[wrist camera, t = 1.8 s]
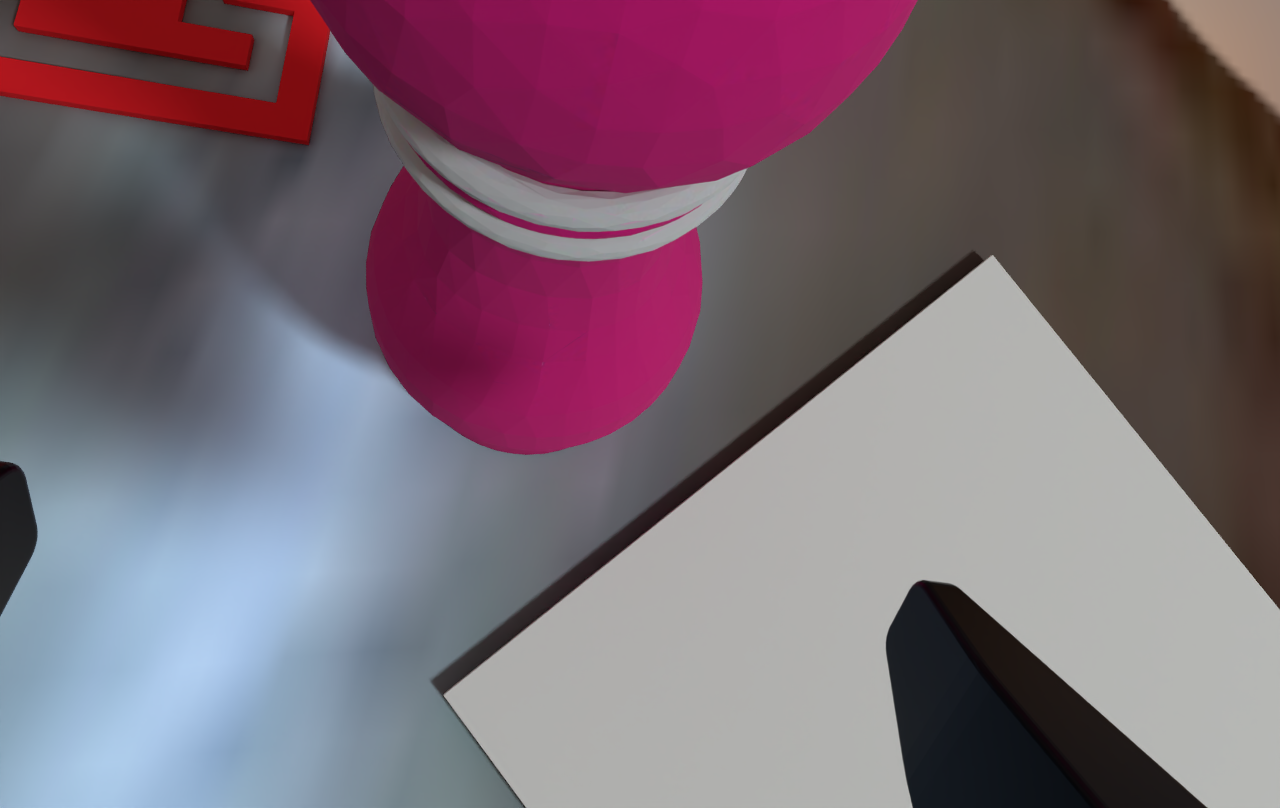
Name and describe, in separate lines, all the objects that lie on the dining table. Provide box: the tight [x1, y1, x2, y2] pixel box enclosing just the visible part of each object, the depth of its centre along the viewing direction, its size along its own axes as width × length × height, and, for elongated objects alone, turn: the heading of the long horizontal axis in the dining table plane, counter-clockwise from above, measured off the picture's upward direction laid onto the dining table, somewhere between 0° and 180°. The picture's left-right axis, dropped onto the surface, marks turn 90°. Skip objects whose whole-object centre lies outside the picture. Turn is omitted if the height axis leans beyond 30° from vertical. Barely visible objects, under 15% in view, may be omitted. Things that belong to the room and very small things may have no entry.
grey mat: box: [444, 255, 1280, 808], centre depth 22 cm, size 20×18×1 cm
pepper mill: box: [310, 0, 917, 455], centre depth 13 cm, size 7×7×20 cm
